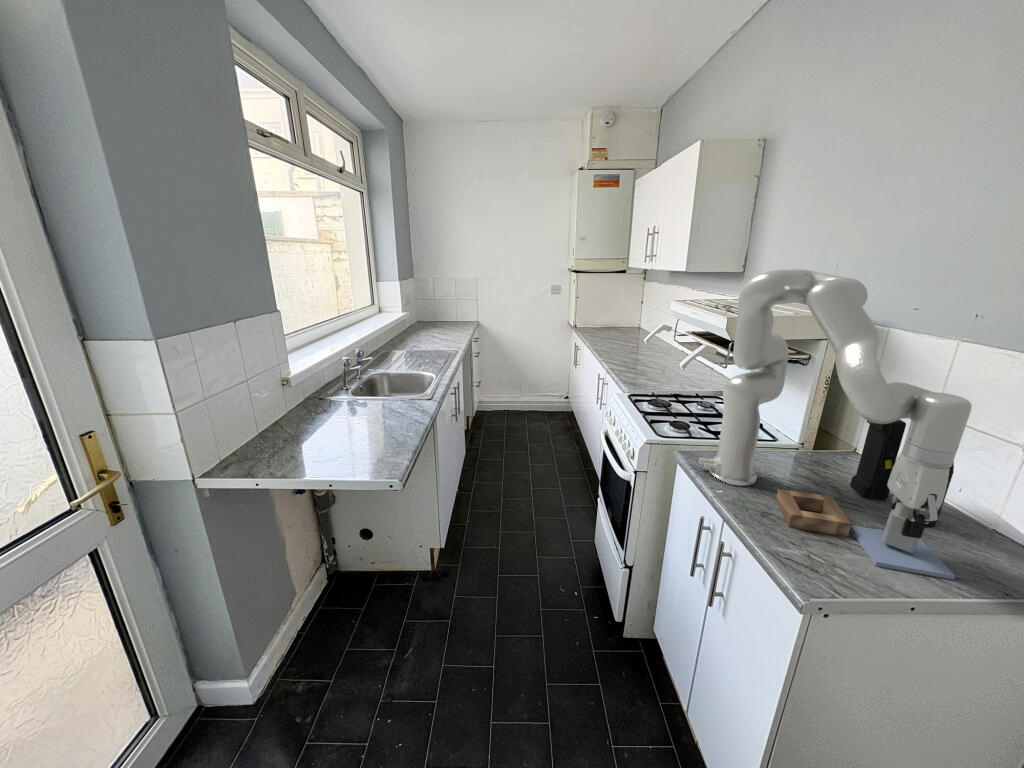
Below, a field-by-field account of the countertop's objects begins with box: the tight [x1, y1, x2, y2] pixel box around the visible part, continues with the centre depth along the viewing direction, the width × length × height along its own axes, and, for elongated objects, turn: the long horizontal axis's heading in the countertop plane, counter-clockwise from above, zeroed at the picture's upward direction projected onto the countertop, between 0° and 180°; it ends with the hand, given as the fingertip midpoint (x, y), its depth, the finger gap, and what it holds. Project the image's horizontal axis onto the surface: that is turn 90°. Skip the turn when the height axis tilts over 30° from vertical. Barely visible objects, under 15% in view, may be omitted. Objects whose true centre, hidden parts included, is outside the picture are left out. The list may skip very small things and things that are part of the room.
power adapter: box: [882, 502, 923, 553], centre depth 89 cm, size 3×5×12 cm, turn 42°
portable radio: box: [849, 419, 907, 501], centre depth 109 cm, size 8×6×25 cm
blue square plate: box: [849, 525, 956, 581], centre depth 91 cm, size 13×13×1 cm
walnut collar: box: [775, 488, 852, 538], centre depth 103 cm, size 12×12×4 cm
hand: (903, 527), depth 89 cm, fingers closed on power adapter, 4 cm apart
